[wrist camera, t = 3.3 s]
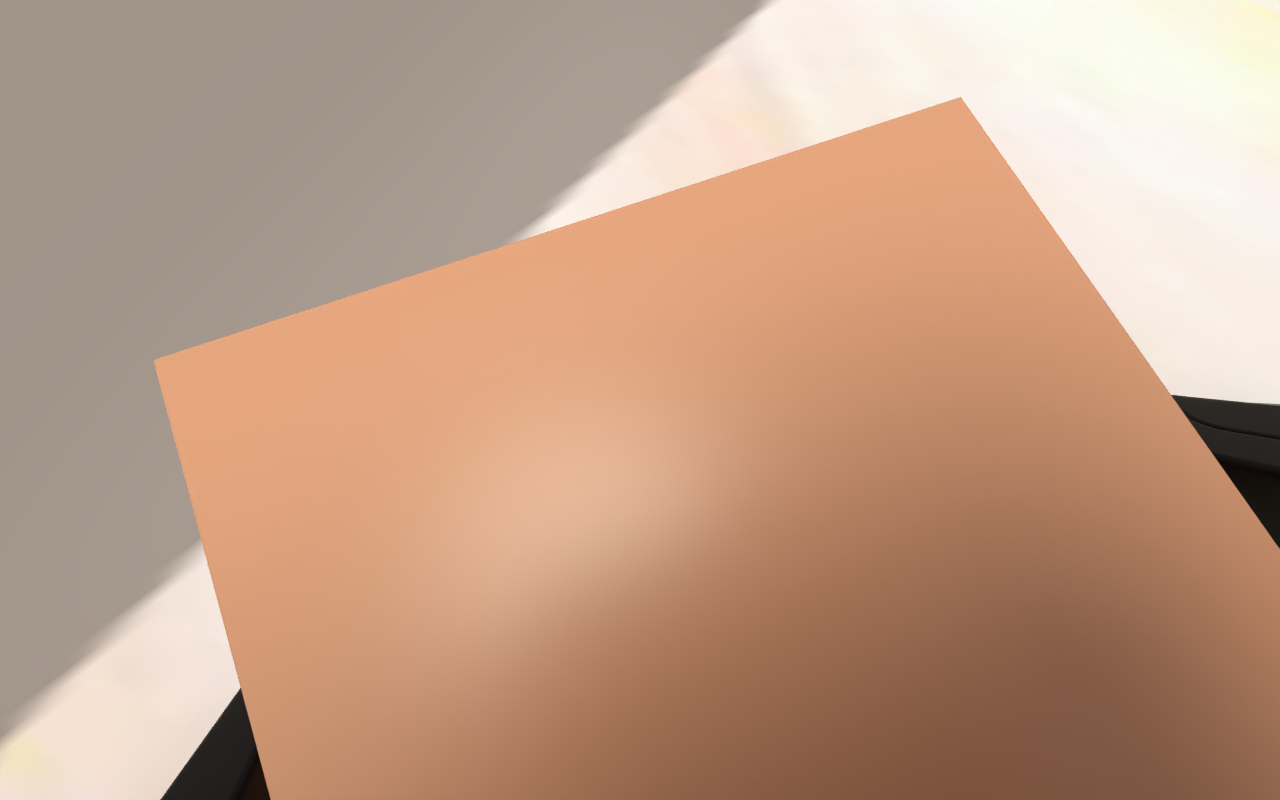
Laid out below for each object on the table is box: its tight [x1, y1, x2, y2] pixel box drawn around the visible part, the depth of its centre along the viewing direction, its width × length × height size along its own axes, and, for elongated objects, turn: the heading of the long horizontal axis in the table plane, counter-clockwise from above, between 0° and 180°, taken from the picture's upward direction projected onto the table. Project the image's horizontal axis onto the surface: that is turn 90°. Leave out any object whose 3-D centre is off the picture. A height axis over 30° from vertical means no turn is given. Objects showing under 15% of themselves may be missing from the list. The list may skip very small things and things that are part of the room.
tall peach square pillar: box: [154, 97, 1280, 800], centre depth 9 cm, size 5×5×12 cm
